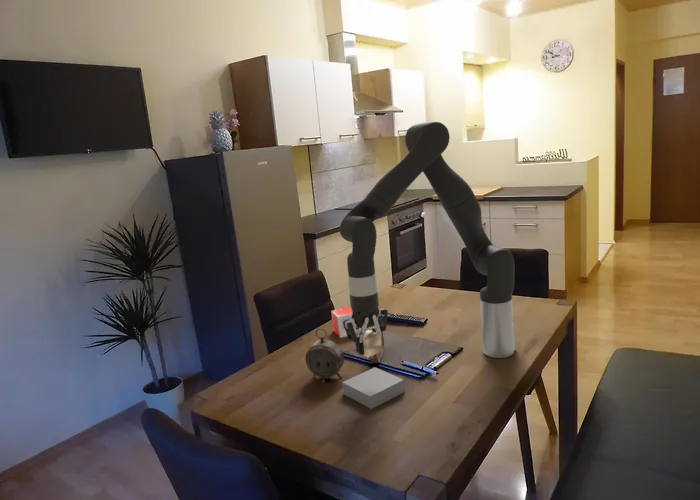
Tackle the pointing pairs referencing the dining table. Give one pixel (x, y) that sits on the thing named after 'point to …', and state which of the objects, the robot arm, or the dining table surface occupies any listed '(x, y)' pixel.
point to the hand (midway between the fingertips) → (369, 350)
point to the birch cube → (371, 343)
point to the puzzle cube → (341, 320)
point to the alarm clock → (324, 358)
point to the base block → (373, 387)
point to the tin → (376, 357)
